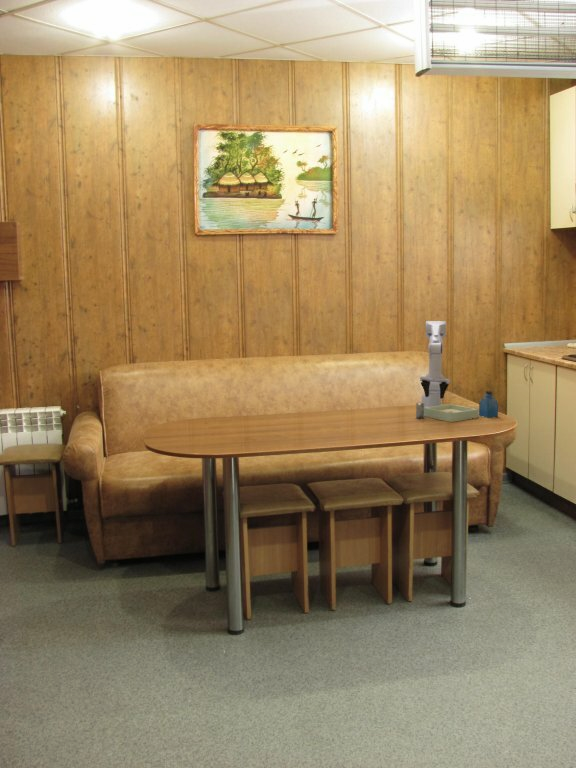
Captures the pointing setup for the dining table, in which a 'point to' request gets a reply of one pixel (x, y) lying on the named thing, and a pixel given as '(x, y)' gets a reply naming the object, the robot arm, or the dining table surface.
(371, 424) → the dining table surface
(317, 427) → the dining table surface
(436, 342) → the robot arm
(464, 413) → the box
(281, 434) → the dining table surface
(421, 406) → the peg
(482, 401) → the perfume bottle
